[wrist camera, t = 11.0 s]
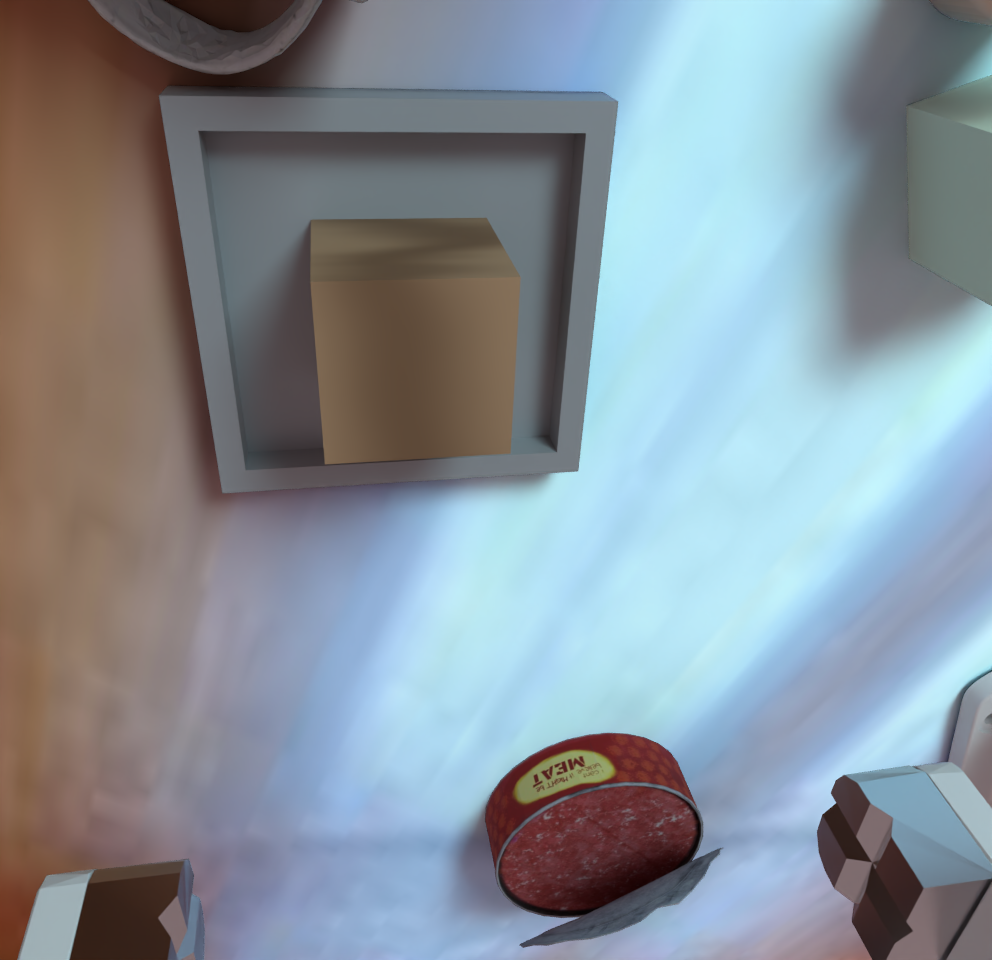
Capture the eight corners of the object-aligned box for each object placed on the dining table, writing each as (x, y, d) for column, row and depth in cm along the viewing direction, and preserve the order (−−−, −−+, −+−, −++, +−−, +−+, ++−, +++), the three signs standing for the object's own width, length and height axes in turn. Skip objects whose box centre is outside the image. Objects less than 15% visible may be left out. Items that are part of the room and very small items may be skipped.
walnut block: (486, 217, 25) (520, 277, 21) (481, 373, 28) (510, 453, 24) (310, 219, 24) (310, 281, 20) (323, 380, 27) (324, 464, 23)
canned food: (635, 669, 44) (800, 802, 38) (583, 813, 48) (724, 955, 42) (465, 736, 37) (635, 915, 30) (421, 899, 41) (562, 1088, 34)
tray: (567, 448, 30) (578, 471, 29) (226, 468, 28) (222, 493, 27) (602, 92, 24) (618, 101, 23) (167, 85, 22) (158, 95, 21)
